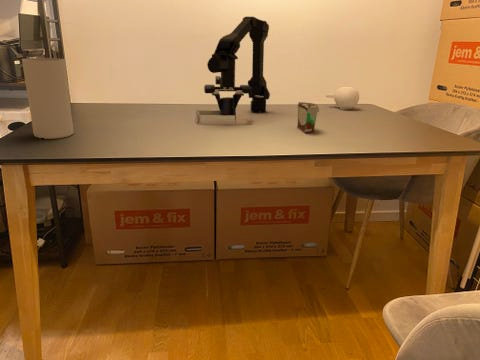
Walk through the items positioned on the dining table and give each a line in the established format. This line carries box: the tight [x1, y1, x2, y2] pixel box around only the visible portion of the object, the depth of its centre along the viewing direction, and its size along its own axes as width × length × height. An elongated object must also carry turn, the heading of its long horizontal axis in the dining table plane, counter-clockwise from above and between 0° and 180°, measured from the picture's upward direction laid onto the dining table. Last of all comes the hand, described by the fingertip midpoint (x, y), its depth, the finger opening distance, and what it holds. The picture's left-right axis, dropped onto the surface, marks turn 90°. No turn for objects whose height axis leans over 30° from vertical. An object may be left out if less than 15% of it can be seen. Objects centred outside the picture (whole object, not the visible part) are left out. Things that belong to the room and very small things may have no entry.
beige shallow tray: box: [195, 109, 253, 126], centre depth 165 cm, size 22×13×4 cm, turn 99°
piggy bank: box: [325, 86, 360, 111], centre depth 200 cm, size 12×12×15 cm
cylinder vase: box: [21, 57, 74, 140], centre depth 132 cm, size 12×12×25 cm
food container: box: [296, 101, 320, 134], centre depth 152 cm, size 12×6×10 cm, turn 9°
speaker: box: [220, 93, 237, 120], centre depth 164 cm, size 8×6×10 cm
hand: (227, 110), depth 164 cm, fingers closed on speaker, 5 cm apart
